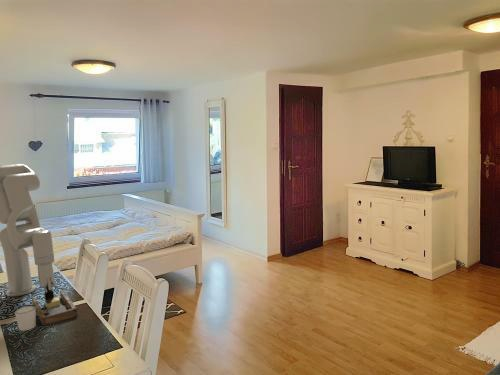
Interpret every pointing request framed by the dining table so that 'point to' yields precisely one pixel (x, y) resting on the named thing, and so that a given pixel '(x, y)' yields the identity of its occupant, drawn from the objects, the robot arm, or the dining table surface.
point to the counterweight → (56, 310)
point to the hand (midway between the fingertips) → (49, 300)
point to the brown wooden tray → (57, 316)
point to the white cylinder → (26, 318)
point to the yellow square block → (52, 303)
